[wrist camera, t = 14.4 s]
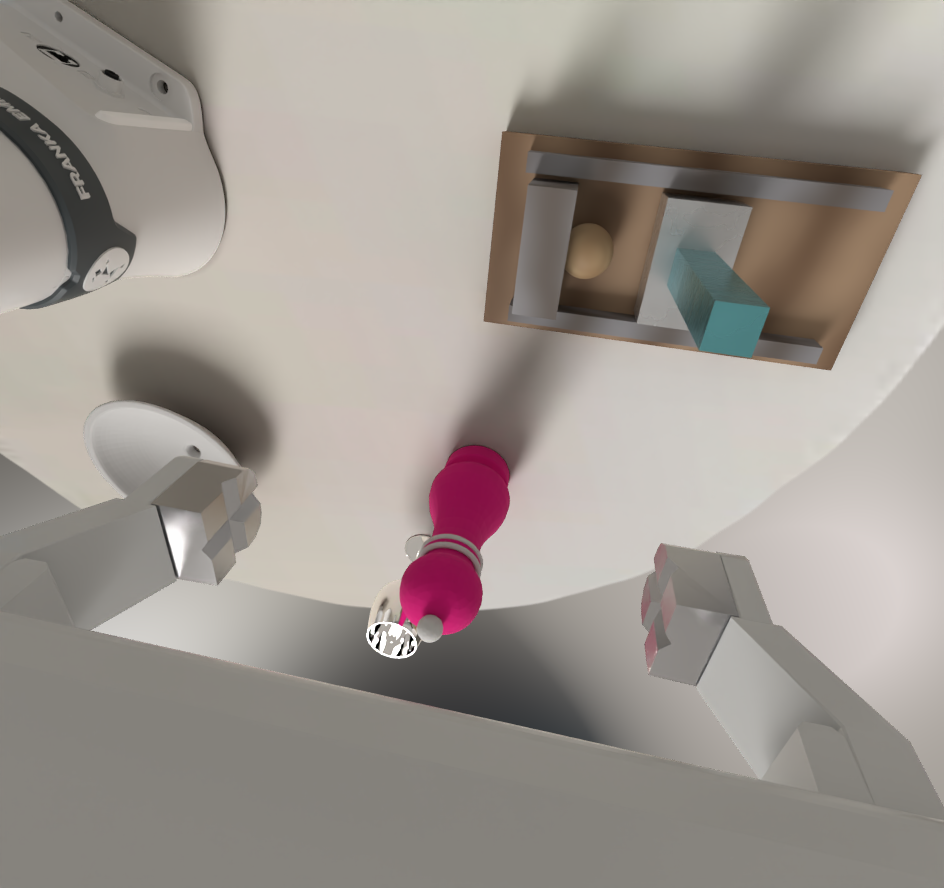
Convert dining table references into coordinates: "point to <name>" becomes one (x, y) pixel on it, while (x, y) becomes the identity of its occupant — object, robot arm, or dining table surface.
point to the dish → (144, 442)
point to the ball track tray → (631, 225)
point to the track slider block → (700, 275)
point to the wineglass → (394, 615)
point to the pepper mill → (456, 543)
